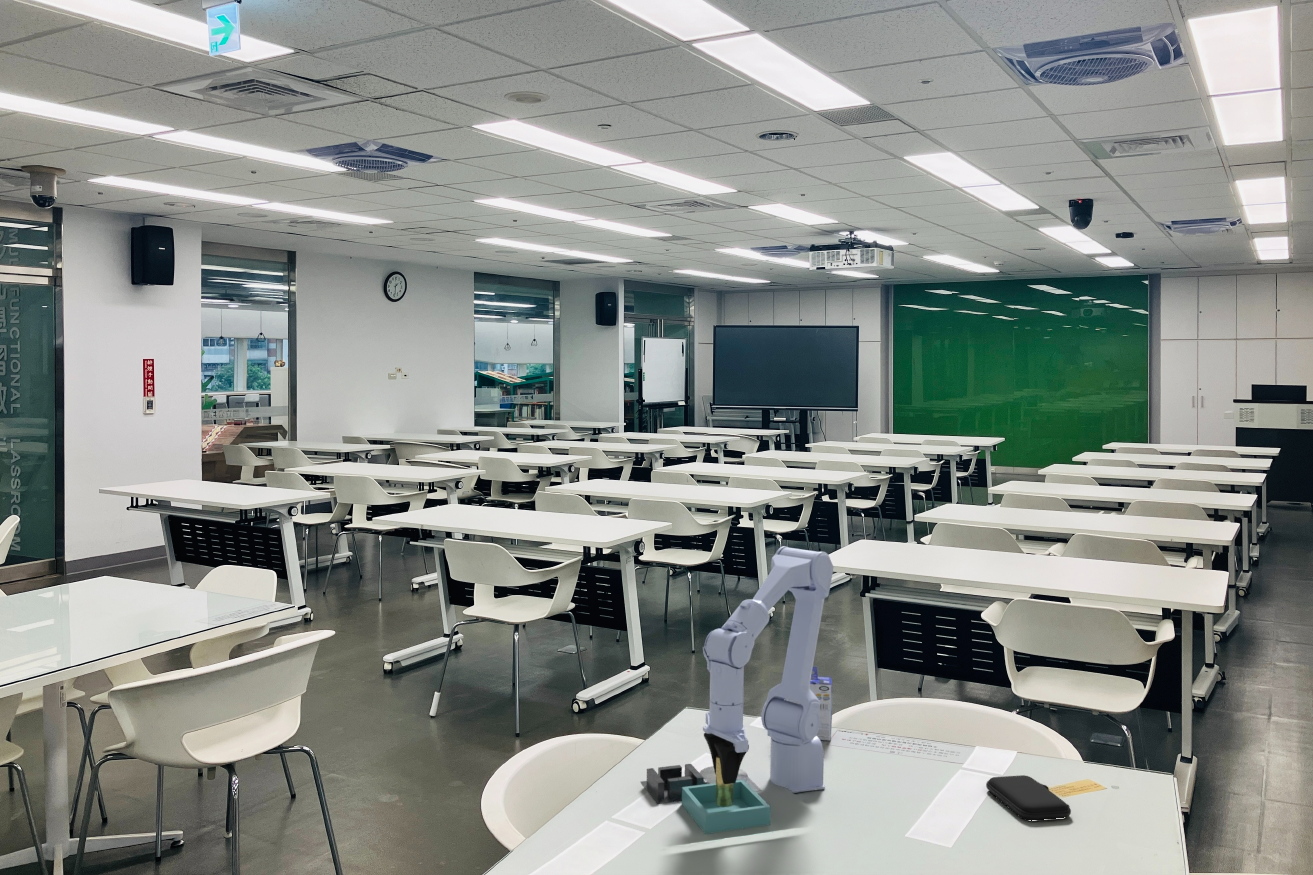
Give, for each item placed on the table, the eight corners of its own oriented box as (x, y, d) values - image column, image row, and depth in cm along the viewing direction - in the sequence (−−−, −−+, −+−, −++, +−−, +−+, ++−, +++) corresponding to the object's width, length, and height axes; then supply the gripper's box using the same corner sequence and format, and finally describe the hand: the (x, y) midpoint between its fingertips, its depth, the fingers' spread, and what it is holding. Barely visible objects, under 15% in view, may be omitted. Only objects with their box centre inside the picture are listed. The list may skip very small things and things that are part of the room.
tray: (742, 801, 172) (743, 779, 172) (770, 829, 161) (770, 806, 161) (681, 809, 168) (682, 787, 168) (705, 839, 157) (705, 815, 157)
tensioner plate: (740, 774, 184) (740, 753, 184) (761, 795, 174) (761, 774, 174) (640, 786, 178) (640, 765, 177) (656, 809, 168) (657, 787, 168)
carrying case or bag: (1081, 822, 166) (1034, 786, 180) (1082, 804, 166) (1035, 770, 180) (1024, 826, 164) (981, 790, 178) (1025, 808, 164) (982, 774, 178)
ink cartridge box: (830, 732, 207) (832, 665, 206) (832, 741, 201) (833, 673, 201) (784, 729, 208) (785, 663, 207) (784, 738, 203) (785, 671, 202)
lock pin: (729, 798, 166) (730, 753, 166) (735, 805, 163) (736, 759, 163) (713, 799, 165) (713, 754, 165) (718, 807, 162) (719, 761, 162)
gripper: (689, 689, 169) (688, 765, 170) (720, 716, 155) (719, 798, 156) (727, 685, 171) (726, 760, 172) (760, 712, 157) (759, 793, 158)
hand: (725, 778), depth 164 cm, fingers closed on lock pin, 3 cm apart
